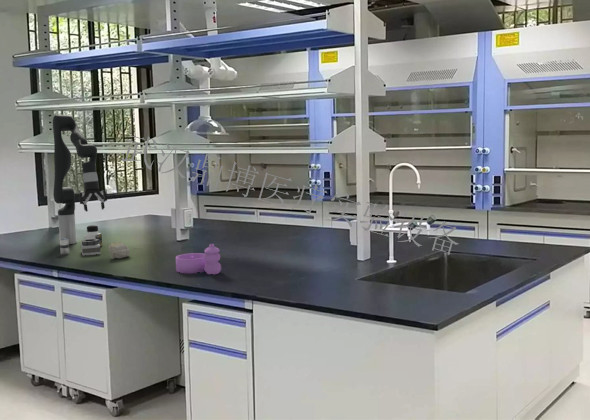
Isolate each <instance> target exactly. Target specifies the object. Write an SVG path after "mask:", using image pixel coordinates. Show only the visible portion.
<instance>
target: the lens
mask: <svg viewBox="0 0 590 420" xmlns="http://www.w3.org/2000/svg"><path fill="white" fill-rule="evenodd" d="M59 249H60V251H59V252H60V255H61V256H68V255H70V244H69V242H68V239H60V238H59Z"/></svg>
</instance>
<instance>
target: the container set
mask: <svg viewBox="0 0 590 420" xmlns="http://www.w3.org/2000/svg"><path fill="white" fill-rule="evenodd" d="M220 251H221V250H220V248H218V247H216V246H215V243H210V244H209V246H208V247H206V248H204V253H201V252H195V253H194V252H191V253H190V252H189V253H183V254H177V255H176V256H175V270H176V272H177V273H179V272H180V273H179V274H198V273H197V272H200V273H204V271H205V272H206V274H207V275H210V274H213V275H217V274H219V273H220V272H221V270H222V264H221V263H220V262H219V261H220V259H221V254H220Z"/></svg>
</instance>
